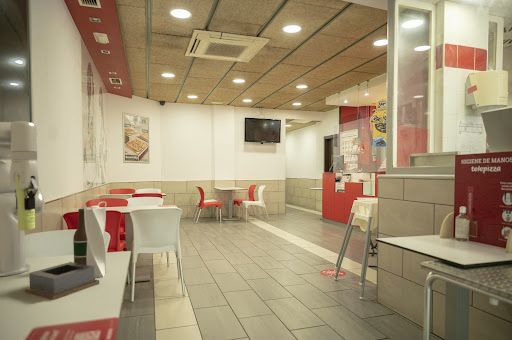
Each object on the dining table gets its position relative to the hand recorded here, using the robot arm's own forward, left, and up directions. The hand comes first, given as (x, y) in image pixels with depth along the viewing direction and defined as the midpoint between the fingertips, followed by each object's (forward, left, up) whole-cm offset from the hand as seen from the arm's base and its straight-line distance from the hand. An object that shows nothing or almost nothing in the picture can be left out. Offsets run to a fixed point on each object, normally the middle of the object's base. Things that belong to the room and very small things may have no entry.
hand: (25, 208), depth 116 cm
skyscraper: (+13, +18, -27) cm, 35 cm away
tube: (0, 0, -8) cm, 8 cm away
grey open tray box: (+14, +4, -27) cm, 31 cm away
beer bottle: (-4, +24, -27) cm, 37 cm away
